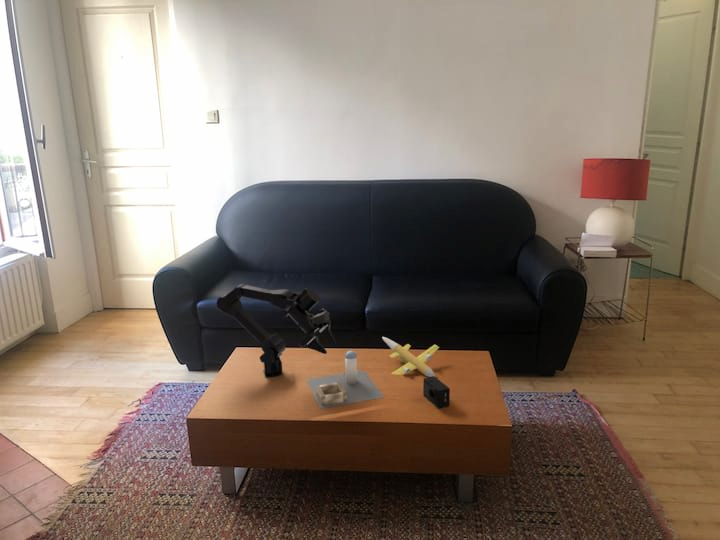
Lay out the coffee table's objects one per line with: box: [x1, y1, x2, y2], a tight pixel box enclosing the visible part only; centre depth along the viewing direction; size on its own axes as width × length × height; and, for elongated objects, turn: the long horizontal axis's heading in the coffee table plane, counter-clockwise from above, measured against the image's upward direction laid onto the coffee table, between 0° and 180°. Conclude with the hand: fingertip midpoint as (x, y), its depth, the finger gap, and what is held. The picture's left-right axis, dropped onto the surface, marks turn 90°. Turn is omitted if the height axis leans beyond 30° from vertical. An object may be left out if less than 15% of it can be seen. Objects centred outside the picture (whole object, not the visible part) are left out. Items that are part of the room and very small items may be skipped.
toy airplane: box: [382, 336, 440, 378], centre depth 215 cm, size 26×7×30 cm
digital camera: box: [422, 376, 451, 410], centre depth 186 cm, size 10×5×7 cm, turn 24°
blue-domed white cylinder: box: [344, 350, 358, 384], centre depth 199 cm, size 4×4×12 cm
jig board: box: [305, 370, 385, 410], centre depth 196 cm, size 23×23×1 cm
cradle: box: [316, 383, 347, 405], centre depth 189 cm, size 9×9×3 cm
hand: (330, 348), depth 200 cm, fingers open, 9 cm apart
